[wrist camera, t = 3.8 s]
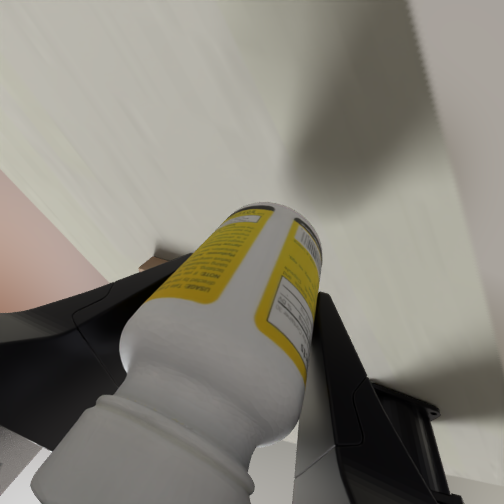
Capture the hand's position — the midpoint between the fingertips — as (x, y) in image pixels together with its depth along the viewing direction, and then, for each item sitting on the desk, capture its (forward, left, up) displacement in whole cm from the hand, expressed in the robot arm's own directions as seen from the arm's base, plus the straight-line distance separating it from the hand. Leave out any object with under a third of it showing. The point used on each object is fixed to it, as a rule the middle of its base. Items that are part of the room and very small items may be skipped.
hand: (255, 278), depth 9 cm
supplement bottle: (0, 0, -3) cm, 3 cm away
